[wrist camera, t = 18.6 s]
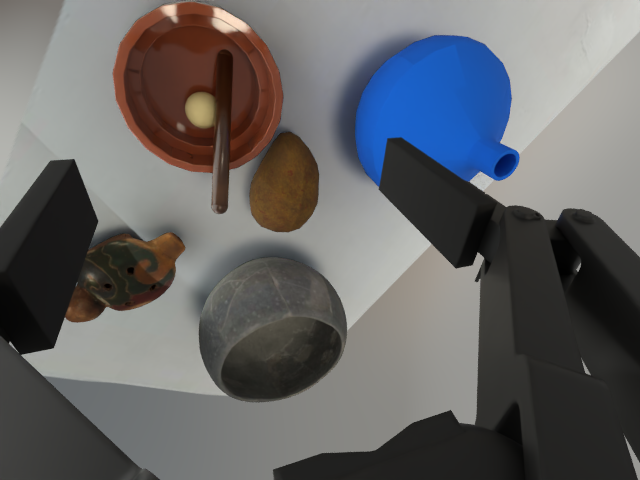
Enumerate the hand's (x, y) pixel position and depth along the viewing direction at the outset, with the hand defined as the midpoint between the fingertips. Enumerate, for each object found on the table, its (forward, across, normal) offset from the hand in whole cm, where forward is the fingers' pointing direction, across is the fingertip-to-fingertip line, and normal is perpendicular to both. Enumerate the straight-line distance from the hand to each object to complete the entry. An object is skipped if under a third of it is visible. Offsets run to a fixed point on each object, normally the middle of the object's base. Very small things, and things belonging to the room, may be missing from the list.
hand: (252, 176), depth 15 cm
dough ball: (+25, -1, -4) cm, 25 cm away
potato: (+27, +7, -13) cm, 31 cm away
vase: (+27, +24, -5) cm, 36 cm away
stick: (+26, +2, +2) cm, 26 cm away
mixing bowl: (+27, -1, -2) cm, 27 cm away
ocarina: (+27, -13, -22) cm, 37 cm away
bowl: (+27, +4, -32) cm, 42 cm away
